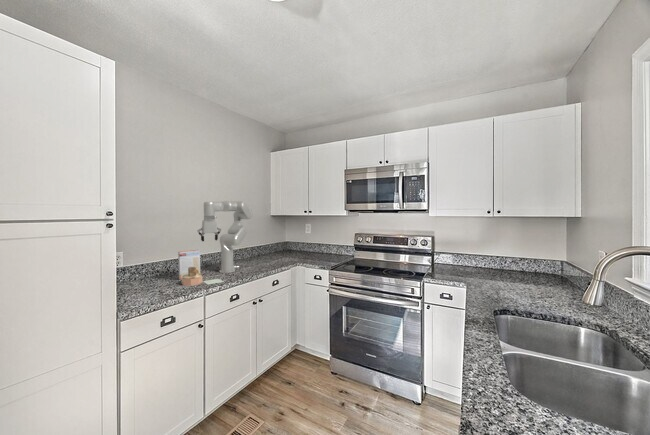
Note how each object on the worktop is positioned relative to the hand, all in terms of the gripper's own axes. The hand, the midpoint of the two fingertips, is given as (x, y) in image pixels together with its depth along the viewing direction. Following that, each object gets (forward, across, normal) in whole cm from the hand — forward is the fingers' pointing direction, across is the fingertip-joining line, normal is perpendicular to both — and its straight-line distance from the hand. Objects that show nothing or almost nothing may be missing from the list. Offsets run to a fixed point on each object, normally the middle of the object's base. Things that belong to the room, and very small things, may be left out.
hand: (209, 240), depth 202 cm
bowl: (+28, +15, +9) cm, 33 cm away
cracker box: (+28, +12, -9) cm, 32 cm away
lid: (+23, +15, +9) cm, 29 cm away
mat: (+28, +2, +14) cm, 32 cm away
